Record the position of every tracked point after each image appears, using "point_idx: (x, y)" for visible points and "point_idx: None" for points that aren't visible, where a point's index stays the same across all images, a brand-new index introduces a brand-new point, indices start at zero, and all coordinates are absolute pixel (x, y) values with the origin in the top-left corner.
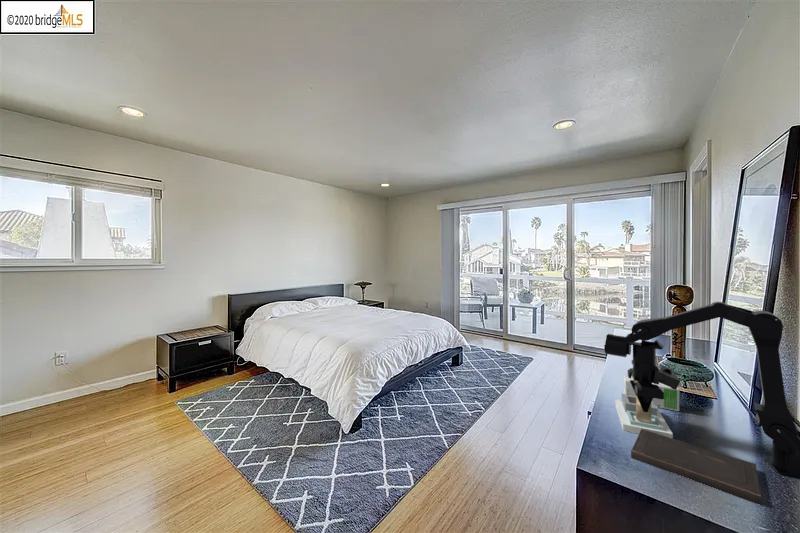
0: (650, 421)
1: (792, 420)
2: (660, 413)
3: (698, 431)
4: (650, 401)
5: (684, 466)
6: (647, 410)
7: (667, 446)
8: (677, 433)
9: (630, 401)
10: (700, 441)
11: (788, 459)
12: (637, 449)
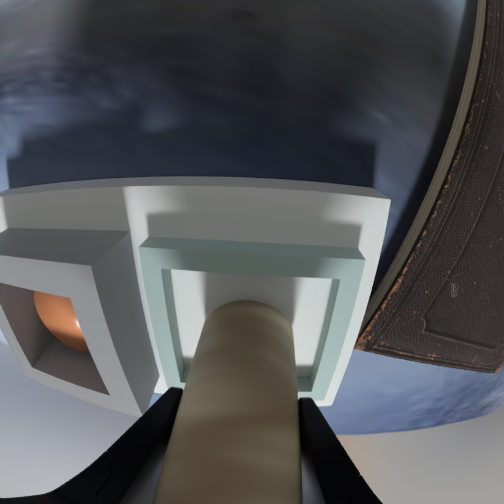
0: (280, 315)
1: None
2: (49, 192)
3: (144, 6)
4: (375, 499)
5: None
6: (320, 413)
7: (496, 272)
8: (237, 119)
9: (39, 335)
10: (299, 21)
11: None
12: (495, 362)
